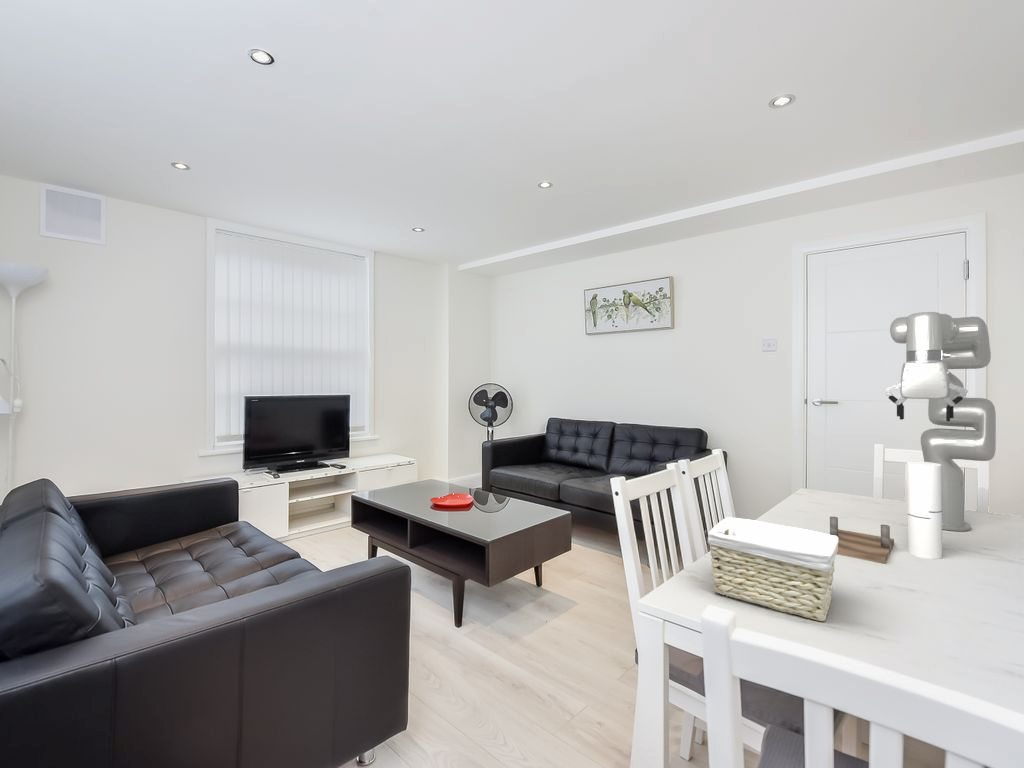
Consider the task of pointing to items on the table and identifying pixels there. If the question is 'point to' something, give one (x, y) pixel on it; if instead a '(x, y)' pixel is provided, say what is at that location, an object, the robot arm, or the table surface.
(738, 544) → the storage basket
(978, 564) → the table surface
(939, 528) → the cylindrical container
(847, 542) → the board
